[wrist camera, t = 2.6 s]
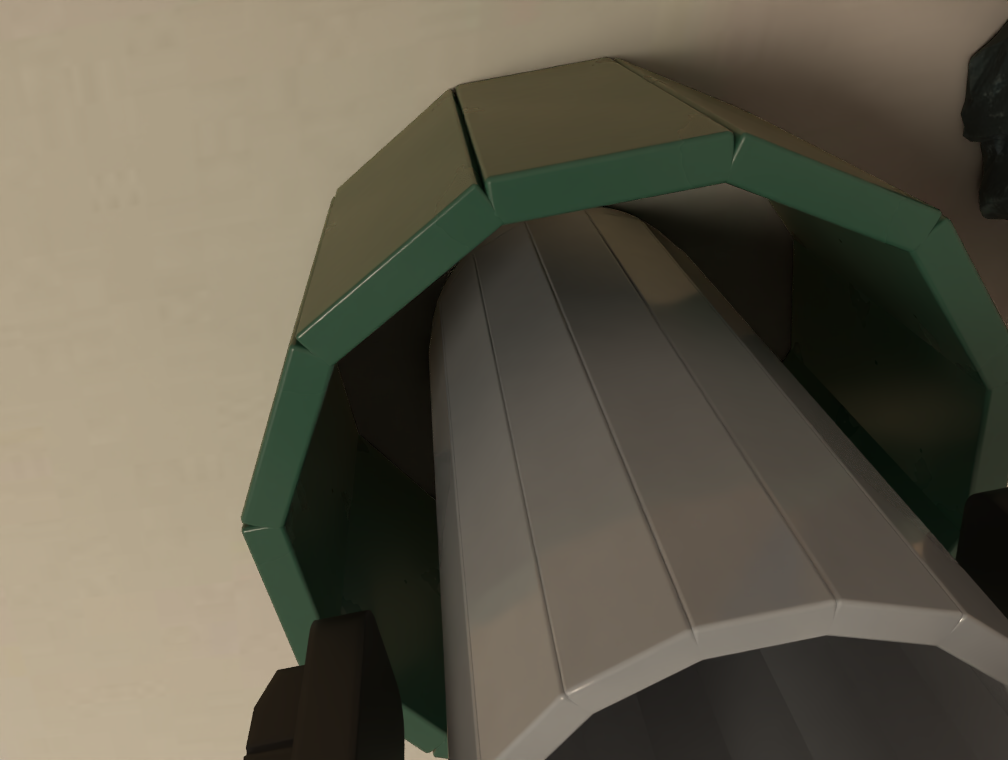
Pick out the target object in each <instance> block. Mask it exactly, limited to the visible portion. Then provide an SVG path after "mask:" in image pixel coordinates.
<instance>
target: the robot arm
mask: <svg viewBox="0 0 1008 760" xmlns="http://www.w3.org/2000/svg"><path fill="white" fill-rule="evenodd" d="M955 560H956V561H957V562H958V564H959V565H960V566H961V567H962V568H963V569H964V570H965V571H966V573H967V574H968V575H969V576H970V577H971V578H972V579H973V581H974V582H975V583H976V584H977V585H978V586H979V587H980V589H981V590H982V591H983V592H984V593H985V594H986V595H987V596H988V598H989V599H990V600H991V601H992V602H993V603H994V604H995V606H996V607H997V608H998V609H999V610H1000V611H1001V612H1002V614H1003V615H1004V616H1005V617H1006V618H1007V619H1008V487H1006V488H1001V489H996V490H991V491H986V492H980V493H976V494H972V495H971V496H969V498H968V499H967V501H966V503H965V506H964V511H963V517H962V523H961V529H960V535H959V541H958V547H957V553H956V559H955ZM246 750H247V755H246V756H244V760H404V718H403V709H402V703H401V697H400V692H399V688H398V685H397V682H396V679H395V676H394V673H393V670H392V667H391V664H390V661H389V658H388V655H387V652H386V649H385V646H384V643H383V640H382V637H381V634H380V632H379V629H378V626H377V623H376V620H375V617H374V615H373V613H372V612H371V611H370V610H365V611H360V612H355V613H350V614H344V615H339V616H334V617H329V618H324V619H319V620H314V621H313V623H312V624H311V627H310V632H309V638H308V645H307V652H306V659H305V665H301V666H296V667H291V668H286V669H281V670H277V671H276V673H275V675H274V676H273V678H272V680H271V681H270V683H269V684H268V686H267V688H266V689H265V691H264V693H263V694H262V696H261V697H260V699H259V701H258V702H257V704H256V706H255V707H254V711H253V716H252V721H251V726H250V731H249V735H248V740H247V745H246Z"/></svg>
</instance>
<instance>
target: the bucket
mask: <svg viewBox="0 0 1008 760" xmlns="http://www.w3.org/2000/svg"><path fill="white" fill-rule="evenodd" d="M455 91H456V95H455V94H454V93H453V91H452V90H450V89H449V90H447V91H446V92H445V93H444V94H443V95H441V96H440V97H439V98H438V99H437V100H436V101H435V102H434V103H433V104H431V105H430V106H429V107H428V108H427V109H426V110H425V111H424V112H423V113H421V114H420V115H419V116H418V117H417V118H416V119H415V120H414V121H413V122H411V123H410V124H409V125H408V126H407V127H406V128H405V129H404V130H403V131H401V132H400V133H399V134H398V135H397V136H396V137H395V138H394V139H393V140H391V141H390V142H389V143H388V144H387V145H386V146H385V147H384V148H383V149H381V150H380V151H379V152H378V153H377V154H376V155H375V156H374V157H373V158H371V159H370V160H369V161H368V162H367V163H366V164H365V165H364V166H363V167H361V168H360V169H359V170H358V171H357V172H356V173H355V174H354V175H353V176H352V177H350V178H349V179H348V180H347V181H346V182H345V183H344V184H343V185H342V186H340V187H339V188H338V189H337V192H336V196H335V197H333V198H332V201H331V204H330V207H329V211H328V214H327V218H326V221H325V224H324V228H323V231H322V235H321V238H320V241H319V245H318V248H317V252H316V255H315V258H314V262H313V265H312V269H311V272H310V275H309V279H308V282H307V286H306V289H305V292H304V296H303V299H302V303H301V306H300V309H299V313H298V316H297V320H296V323H295V326H294V330H293V333H292V336H291V340H290V343H289V347H288V350H287V354H286V357H285V361H284V365H283V368H282V372H281V375H280V379H279V383H278V386H277V390H276V393H275V397H274V401H273V404H272V408H271V411H270V415H269V418H268V422H267V426H266V429H265V433H264V436H263V440H262V444H261V447H260V451H259V454H258V458H257V462H256V465H255V469H254V472H253V476H252V479H251V483H250V487H249V490H248V494H247V497H246V501H245V505H244V508H243V512H242V515H241V520H242V523H243V526H242V533H243V536H244V538H245V540H246V543H247V545H248V547H249V550H250V552H251V554H252V557H253V559H254V561H255V564H256V566H257V568H258V571H259V573H260V575H261V578H262V580H263V582H264V585H265V587H266V589H267V592H268V594H269V596H270V599H271V601H272V603H273V606H274V608H275V610H276V613H277V615H278V617H279V620H280V622H281V624H282V627H283V629H284V631H285V634H286V636H287V638H288V641H289V643H290V646H291V648H292V650H293V653H294V655H295V657H296V660H297V662H298V664H299V666H301V665H305V659H306V652H307V645H308V638H309V632H310V627H311V624H312V623H313V621H314V620H319V619H324V618H329V617H334V616H339V615H344V614H350V613H355V612H360V611H365V610H370V611H371V612H372V613H373V615H374V617H375V620H376V623H377V626H378V629H379V632H380V634H381V637H382V640H383V643H384V646H385V649H386V652H387V655H388V658H389V661H390V664H391V667H392V670H393V673H394V676H395V679H396V682H397V685H398V688H399V692H400V697H401V703H402V709H403V718H404V739H405V740H407V741H408V742H410V743H411V744H413V745H415V746H416V747H418V748H419V749H421V750H422V751H424V752H425V753H430V752H431V751H433V755H434V756H435V757H439V758H446V759H448V739H447V718H446V698H445V677H444V656H443V636H442V615H441V594H440V574H439V553H438V533H437V512H436V500H434V499H433V498H432V497H431V496H430V495H429V494H428V493H426V492H425V491H424V490H423V489H422V488H421V487H419V486H418V485H417V484H416V483H415V482H414V481H413V480H411V479H410V478H409V477H408V476H407V475H406V474H404V473H403V472H402V471H401V470H400V469H399V468H398V467H396V466H395V465H394V464H393V463H392V462H391V461H389V460H388V459H387V458H386V457H385V456H384V455H383V454H381V453H380V452H379V451H378V450H377V449H376V448H374V447H373V446H372V445H371V444H370V443H369V442H368V441H366V440H365V439H364V438H363V437H362V436H361V435H359V433H358V430H357V427H356V424H355V420H354V417H353V414H352V410H351V407H350V404H349V401H348V397H347V394H346V391H345V388H344V384H343V381H342V378H341V374H340V371H339V368H338V365H337V362H338V361H339V360H340V359H342V358H343V357H344V356H345V355H346V354H348V353H349V352H350V351H351V350H352V349H354V348H355V347H356V346H357V345H358V344H360V343H361V342H362V341H363V340H364V339H366V338H367V337H368V336H369V335H371V334H372V333H373V332H374V331H375V330H377V329H378V328H379V327H380V326H381V325H383V324H384V323H385V322H386V321H387V320H389V319H390V318H391V317H392V316H393V315H395V314H396V313H397V312H398V311H400V310H401V309H402V308H403V307H404V306H406V305H407V304H408V303H409V302H410V301H412V300H413V299H414V298H415V297H416V296H418V295H419V294H420V293H421V292H422V291H424V290H425V289H426V288H427V287H428V286H430V285H431V284H432V283H433V282H435V281H436V280H437V279H438V278H439V277H441V276H442V275H443V274H444V273H445V272H447V271H448V270H449V269H450V268H451V267H453V266H454V265H455V264H456V263H457V262H459V261H460V260H461V259H462V258H463V257H465V256H466V255H467V254H468V253H470V252H471V251H472V250H473V249H474V248H476V247H477V246H478V245H479V244H480V243H482V242H483V241H484V240H485V239H486V238H488V237H489V236H490V235H491V234H492V233H494V232H495V231H496V230H497V229H499V228H500V227H501V226H502V225H507V224H512V223H517V222H523V221H528V220H533V219H538V218H543V217H549V216H554V215H559V214H564V213H570V212H575V211H580V210H585V209H591V208H596V207H601V206H606V205H611V204H617V203H622V202H627V201H632V200H638V199H643V198H648V197H653V196H659V195H664V194H669V193H674V192H679V191H685V190H690V189H695V188H700V187H706V186H711V185H716V184H721V183H728V184H730V185H733V186H735V187H738V188H741V189H743V190H746V191H749V192H751V193H754V194H756V195H759V196H762V197H764V198H767V199H768V200H769V202H770V203H771V205H772V206H773V208H774V209H775V211H776V212H777V214H778V215H779V217H780V218H781V220H782V222H783V223H784V225H785V226H786V228H787V229H788V231H789V232H790V234H791V235H792V237H793V239H794V253H793V293H792V334H791V350H790V352H789V353H788V355H787V357H786V358H785V360H784V362H783V365H784V366H785V367H786V368H787V369H788V370H789V371H790V373H791V374H792V375H793V376H794V377H795V378H796V379H797V381H798V382H799V383H800V384H801V385H802V386H803V387H804V388H805V390H806V391H807V392H808V393H809V394H810V395H811V396H812V398H813V399H814V400H815V401H816V402H817V403H818V404H819V406H820V407H821V408H822V409H823V410H824V411H825V412H826V413H827V415H828V416H829V417H830V418H831V419H832V420H833V421H834V423H835V424H836V425H837V426H838V427H839V428H840V429H841V431H842V432H843V433H844V434H845V435H846V436H847V437H848V438H849V440H850V441H851V442H852V443H853V444H854V445H855V446H856V448H857V449H858V450H859V451H860V452H861V453H862V454H863V456H864V457H865V458H866V459H867V460H868V461H869V462H870V463H871V465H872V466H873V467H874V468H875V469H876V470H877V471H878V473H879V474H880V475H881V476H882V477H883V478H884V479H885V481H886V482H887V483H888V484H889V485H890V486H891V487H892V489H893V490H894V491H895V492H896V493H897V494H898V495H899V496H900V498H901V499H902V500H903V501H904V502H905V503H906V504H907V506H908V507H909V508H910V509H911V510H912V511H913V512H914V514H915V515H916V516H917V517H918V518H919V519H920V520H921V521H922V523H923V524H924V525H925V526H926V527H927V528H928V529H929V531H930V532H931V533H932V534H933V535H934V536H935V537H936V539H937V540H938V541H939V542H940V543H941V544H942V545H943V546H944V548H945V549H946V550H947V551H948V552H949V553H950V554H951V556H952V557H953V558H954V559H956V553H957V547H958V541H959V535H960V529H961V523H962V517H963V511H964V506H965V503H966V501H967V499H968V498H969V496H971V495H972V494H976V493H980V492H986V491H991V490H996V489H1001V488H1006V487H1007V483H1008V330H1007V328H1006V326H1005V324H1004V322H1003V320H1002V318H1001V316H1000V314H999V312H998V310H997V309H996V307H995V305H994V303H993V301H992V299H991V297H990V295H989V293H988V291H987V289H986V287H985V286H984V284H983V282H982V280H981V278H980V276H979V274H978V272H977V270H976V268H975V266H974V264H973V263H972V261H971V259H970V257H969V255H968V253H967V251H966V249H965V247H964V245H963V243H962V241H961V240H960V238H959V236H958V234H957V232H956V230H955V228H954V226H953V224H952V222H951V220H950V219H948V218H947V217H945V216H943V215H942V213H941V211H940V210H939V209H937V208H935V207H933V206H931V205H929V204H927V203H926V202H924V201H922V200H920V199H918V198H916V197H914V196H912V195H910V194H908V193H906V192H904V191H902V190H900V189H898V188H896V187H894V186H892V185H890V184H888V183H886V182H884V181H882V180H880V179H879V178H877V177H875V176H873V175H871V174H869V173H867V172H865V171H863V170H861V169H859V168H857V167H855V166H853V165H851V164H849V163H847V162H845V161H843V160H841V159H839V158H837V157H835V156H833V155H832V154H830V153H828V152H826V151H824V150H822V149H820V148H818V147H816V146H814V145H812V144H810V143H808V142H806V141H804V140H802V139H800V138H798V137H796V136H794V135H792V134H790V133H788V132H786V131H785V130H783V129H781V128H779V127H777V126H775V125H773V124H771V123H769V122H767V121H765V120H763V119H761V118H759V117H757V116H755V115H753V114H751V113H749V112H747V111H745V110H743V109H740V108H738V107H735V106H733V105H731V104H728V103H726V102H723V101H721V100H718V99H716V98H714V97H711V96H709V95H706V94H704V93H701V92H699V91H697V90H694V89H692V88H689V87H687V86H684V85H682V84H680V83H677V82H675V81H672V80H670V79H667V78H665V77H663V76H660V75H658V74H655V73H653V72H650V71H648V70H646V69H643V68H641V67H638V66H636V65H633V64H631V63H629V62H626V61H624V60H621V59H619V58H616V59H615V60H614V61H613V60H612V59H610V58H607V57H605V58H600V59H594V60H589V61H584V62H578V63H573V64H568V65H562V66H557V67H552V68H547V69H541V70H536V71H531V72H525V73H520V74H515V75H509V76H504V77H499V78H494V79H488V80H483V81H478V82H472V83H467V84H462V85H458V86H457V87H456V89H455Z"/></svg>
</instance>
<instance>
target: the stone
mask: <svg viewBox="0 0 1008 760" xmlns="http://www.w3.org/2000/svg"><path fill="white" fill-rule="evenodd" d="M961 116H962V119H963V123H964V126H965V127H964V133H963V136H964V137H965V138H966V139H968V140H969V141H972V142H981V150H982V155H983V162H984V174H983V178H982V182H981V186H980V190H979V204H980V211H981V213H982V216H983V217H984V218H987V219H1006V220H1008V22H1007V23H1006V24H1005V25H1004V26H1003V27H1002V29H1001V30H1000V31H999V32H998V34H997V35H996V36H995V37H994V38H993V39H992V40H991V41H990V42H989V43H988V44H987V45H985V46H984V47H983V48H982V49H981V50H980V51H979V52H977V53H976V54H975V55H974V56H973V57H972V58H971V60H970V63H969V71H968V81H967V92H966V100H965V103H964V106H963V109H962V112H961Z"/></svg>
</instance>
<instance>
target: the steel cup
mask: <svg viewBox="0 0 1008 760" xmlns="http://www.w3.org/2000/svg"><path fill="white" fill-rule="evenodd" d="M429 367H430V388H431V409H432V429H433V450H434V471H435V491H436V512H437V533H438V553H439V574H440V594H441V615H442V636H443V656H444V677H445V698H446V718H447V739H448V760H1008V619H1007V618H1006V617H1005V616H1004V615H1003V614H1002V612H1001V611H1000V610H999V609H998V608H997V607H996V606H995V604H994V603H993V602H992V601H991V600H990V599H989V598H988V596H987V595H986V594H985V593H984V592H983V591H982V590H981V589H980V587H979V586H978V585H977V584H976V583H975V582H974V581H973V579H972V578H971V577H970V576H969V575H968V574H967V573H966V571H965V570H964V569H963V568H962V567H961V566H960V565H959V564H958V562H957V561H956V560H955V559H954V558H953V557H952V556H951V554H950V553H949V552H948V551H947V550H946V549H945V548H944V546H943V545H942V544H941V543H940V542H939V541H938V540H937V539H936V537H935V536H934V535H933V534H932V533H931V532H930V531H929V529H928V528H927V527H926V526H925V525H924V524H923V523H922V521H921V520H920V519H919V518H918V517H917V516H916V515H915V514H914V512H913V511H912V510H911V509H910V508H909V507H908V506H907V504H906V503H905V502H904V501H903V500H902V499H901V498H900V496H899V495H898V494H897V493H896V492H895V491H894V490H893V489H892V487H891V486H890V485H889V484H888V483H887V482H886V481H885V479H884V478H883V477H882V476H881V475H880V474H879V473H878V471H877V470H876V469H875V468H874V467H873V466H872V465H871V463H870V462H869V461H868V460H867V459H866V458H865V457H864V456H863V454H862V453H861V452H860V451H859V450H858V449H857V448H856V446H855V445H854V444H853V443H852V442H851V441H850V440H849V438H848V437H847V436H846V435H845V434H844V433H843V432H842V431H841V429H840V428H839V427H838V426H837V425H836V424H835V423H834V421H833V420H832V419H831V418H830V417H829V416H828V415H827V413H826V412H825V411H824V410H823V409H822V408H821V407H820V406H819V404H818V403H817V402H816V401H815V400H814V399H813V398H812V396H811V395H810V394H809V393H808V392H807V391H806V390H805V388H804V387H803V386H802V385H801V384H800V383H799V382H798V381H797V379H796V378H795V377H794V376H793V375H792V374H791V373H790V371H789V370H788V369H787V368H786V367H785V366H784V365H783V363H782V362H781V361H780V360H779V359H778V358H777V357H776V356H775V354H774V353H773V352H772V351H771V350H770V349H769V348H768V346H767V345H766V344H765V343H764V342H763V341H762V340H761V338H760V337H759V336H758V335H757V334H756V333H755V332H754V331H753V329H752V328H751V327H750V326H749V325H748V324H747V323H746V321H745V320H744V319H743V318H742V317H741V316H740V315H739V313H738V312H737V311H736V310H735V309H734V308H733V307H732V306H731V304H730V303H729V302H728V301H727V300H726V299H725V298H724V296H723V295H722V294H721V293H720V292H719V291H718V290H717V288H716V287H715V286H714V285H713V284H712V283H711V282H710V280H709V279H708V278H707V277H706V276H705V275H704V274H703V273H702V271H701V270H700V269H699V268H698V267H697V266H696V265H695V263H694V262H693V261H692V260H691V259H690V258H689V257H688V255H687V254H686V253H685V252H684V251H683V250H681V249H680V248H678V247H677V246H676V245H674V244H673V243H672V241H671V240H670V239H668V238H667V237H666V236H665V235H664V234H662V233H661V232H660V231H659V230H658V229H656V228H655V227H653V226H651V225H650V224H648V223H647V222H645V221H643V220H642V219H639V218H637V217H635V216H632V215H630V214H628V213H625V212H622V211H618V210H615V209H611V208H607V207H596V208H591V209H585V210H580V211H575V212H570V213H564V214H559V215H554V216H549V217H543V218H538V219H533V220H528V221H523V222H517V223H512V224H507V225H503V226H501V227H500V228H499V229H497V230H496V231H495V232H494V233H492V234H491V235H490V236H489V237H488V238H486V239H485V240H484V241H483V242H482V243H480V244H479V245H478V246H477V247H476V248H474V249H473V250H472V251H471V252H470V253H468V254H467V255H466V256H465V257H463V259H462V260H461V261H460V262H459V263H458V265H457V266H456V267H455V268H454V270H453V272H452V273H451V275H450V276H449V278H448V280H447V281H446V283H445V285H444V287H443V289H442V292H441V294H440V296H439V298H438V301H437V305H436V308H435V312H434V315H433V321H432V328H431V342H430V347H429Z"/></svg>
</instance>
